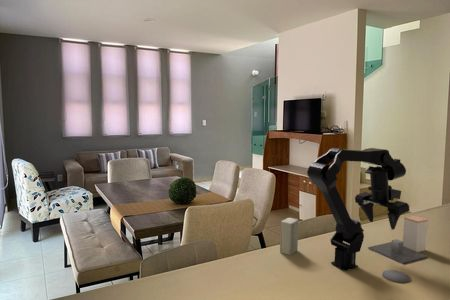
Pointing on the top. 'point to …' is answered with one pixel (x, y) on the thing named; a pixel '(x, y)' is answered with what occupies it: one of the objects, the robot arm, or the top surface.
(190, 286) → the top surface
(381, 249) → the post plate
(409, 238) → the pink-topped tall block
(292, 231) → the skincare box
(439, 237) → the top surface
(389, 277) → the slate coaster
